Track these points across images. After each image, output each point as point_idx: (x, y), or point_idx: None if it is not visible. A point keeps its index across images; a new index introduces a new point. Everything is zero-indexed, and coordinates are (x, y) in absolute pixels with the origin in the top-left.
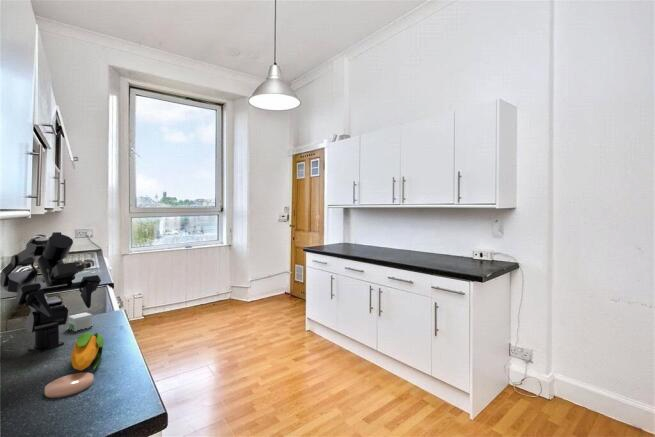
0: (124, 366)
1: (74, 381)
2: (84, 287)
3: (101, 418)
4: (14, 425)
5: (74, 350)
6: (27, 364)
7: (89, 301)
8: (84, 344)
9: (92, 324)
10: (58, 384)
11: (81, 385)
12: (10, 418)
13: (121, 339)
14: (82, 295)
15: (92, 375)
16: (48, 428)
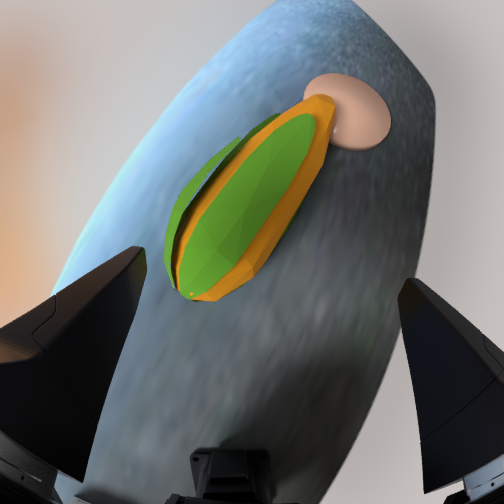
0: (225, 90)
1: (343, 98)
2: (15, 439)
3: (350, 16)
4: (428, 94)
5: (312, 161)
6: (338, 378)
7: (112, 266)
8: (300, 116)
9: (70, 500)
10: (368, 118)
11: (342, 74)
12: (431, 115)
13: None
14: (80, 437)
15: (308, 87)
16: (399, 52)
